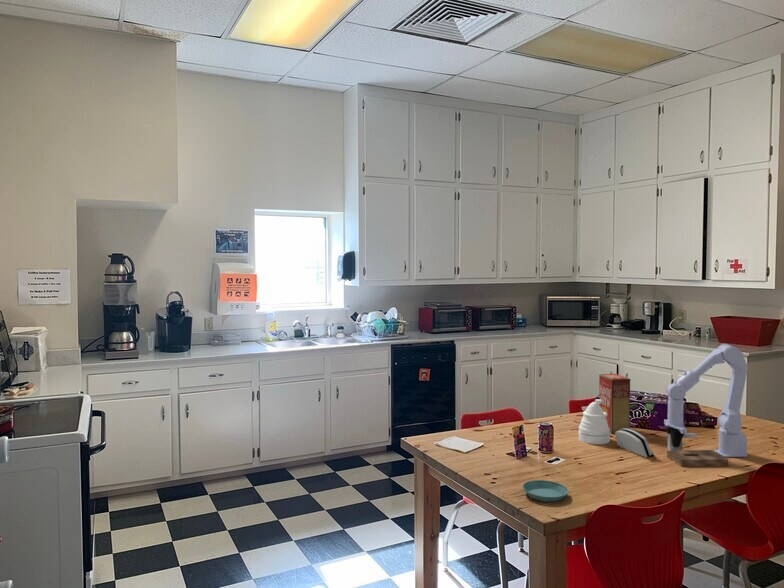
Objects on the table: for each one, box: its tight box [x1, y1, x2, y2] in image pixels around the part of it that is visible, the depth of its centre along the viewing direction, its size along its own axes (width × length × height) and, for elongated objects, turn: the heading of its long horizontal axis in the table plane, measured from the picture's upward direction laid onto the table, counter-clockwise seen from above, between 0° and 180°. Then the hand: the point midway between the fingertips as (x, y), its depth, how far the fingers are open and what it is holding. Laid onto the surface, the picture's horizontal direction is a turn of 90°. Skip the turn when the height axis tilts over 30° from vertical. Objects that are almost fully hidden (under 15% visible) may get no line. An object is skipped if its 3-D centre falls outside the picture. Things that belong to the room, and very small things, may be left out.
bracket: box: [667, 432, 698, 451], centre depth 241 cm, size 11×2×7 cm, turn 92°
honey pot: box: [578, 398, 611, 445], centre depth 255 cm, size 13×13×18 cm
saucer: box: [521, 479, 569, 503], centre depth 195 cm, size 15×15×3 cm
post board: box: [666, 449, 729, 467], centre depth 228 cm, size 18×11×2 cm, turn 92°
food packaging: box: [598, 373, 631, 435], centre depth 271 cm, size 13×9×25 cm
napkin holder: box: [614, 428, 655, 458], centre depth 240 cm, size 17×5×10 cm, turn 17°
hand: (674, 446), depth 241 cm, fingers closed on bracket, 2 cm apart
